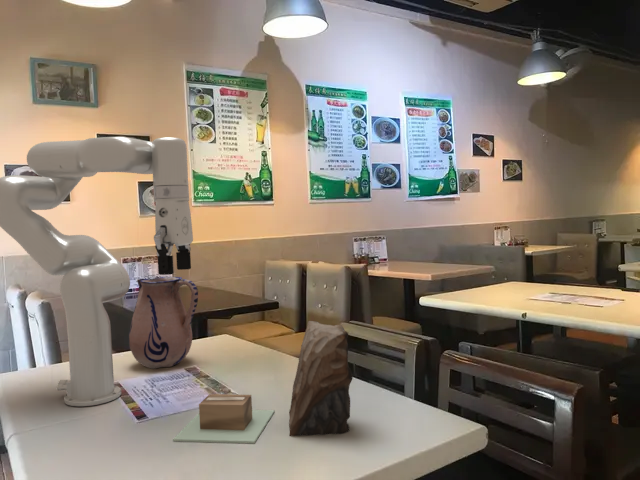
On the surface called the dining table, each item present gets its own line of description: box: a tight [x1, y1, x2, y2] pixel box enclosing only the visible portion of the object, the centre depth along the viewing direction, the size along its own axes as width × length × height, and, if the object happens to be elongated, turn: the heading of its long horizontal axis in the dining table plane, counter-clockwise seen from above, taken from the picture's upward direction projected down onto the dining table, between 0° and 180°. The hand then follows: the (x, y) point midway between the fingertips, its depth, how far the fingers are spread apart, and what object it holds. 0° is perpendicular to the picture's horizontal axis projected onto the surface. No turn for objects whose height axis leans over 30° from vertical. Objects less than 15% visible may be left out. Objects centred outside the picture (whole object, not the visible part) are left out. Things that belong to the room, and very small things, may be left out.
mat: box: [172, 409, 275, 444], centre depth 112 cm, size 16×16×1 cm
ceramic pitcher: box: [128, 275, 199, 369], centre depth 160 cm, size 18×21×25 cm
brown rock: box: [288, 320, 354, 437], centre depth 110 cm, size 13×13×20 cm
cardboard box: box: [198, 393, 253, 430], centre depth 112 cm, size 6×9×5 cm, turn 81°
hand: (175, 271), depth 123 cm, fingers open, 9 cm apart
